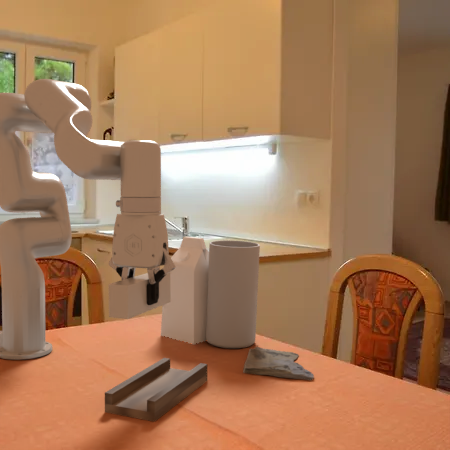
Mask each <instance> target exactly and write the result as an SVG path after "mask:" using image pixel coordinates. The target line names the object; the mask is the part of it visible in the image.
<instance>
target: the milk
mask: <svg viewBox="0 0 450 450" xmlns="http://www.w3.org/2000/svg"><path fill="white" fill-rule="evenodd" d="M170 258H171V259H172V261H173V263H174V265H175V269H174V270H172V271H171V272H169V273H170V291H171V302H169V303H167V304H164V305H162V306H161V307H162V308H161V325H160V326H161V327H160V336H161V337H164V336H165V338H167V337H169V338H168V339H171V338H172V340H175V339H176V340H175V341H179V340H180V341H179V342H182V341H184V342H183V343H186V342H188V343H187V344H190V343H192V344H191V345H197V344H200V343H199V342H201V343H203V341H204V342H207V341H206V322H207V296H208V270H209V249H207V247H206V243H205V239H204V237H195V236H183V237H182V239H181V244H180V246H179V247H178V248H177V250H176V251H175V252H174V253H173V255H172V256H170ZM196 343H197V344H196Z"/></svg>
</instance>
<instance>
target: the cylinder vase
mask: <svg viewBox="0 0 450 450" xmlns="http://www.w3.org/2000/svg"><path fill="white" fill-rule="evenodd" d="M260 247H261V244H259V243H257V242H253V241H248V240H246V241H245V240H244V241H243V240H231V239H230V240H224V239H223V240H213V241H210V242H209V247H208V248H209V249H208V251H209V270H208V296H207V322H206V340H207V341H206V342H207V343H208V344H210V345H211V346H214V347H217V348H218V347H219V348H223V349H243V348H244V349H245V348H249V347H250V346H253V344H255V342H256V338H257V337H256V333H257V314H258V313H257V312H258V293H259V292H258V291H259V273H260V272H259V270H260V269H259V268H260Z"/></svg>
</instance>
